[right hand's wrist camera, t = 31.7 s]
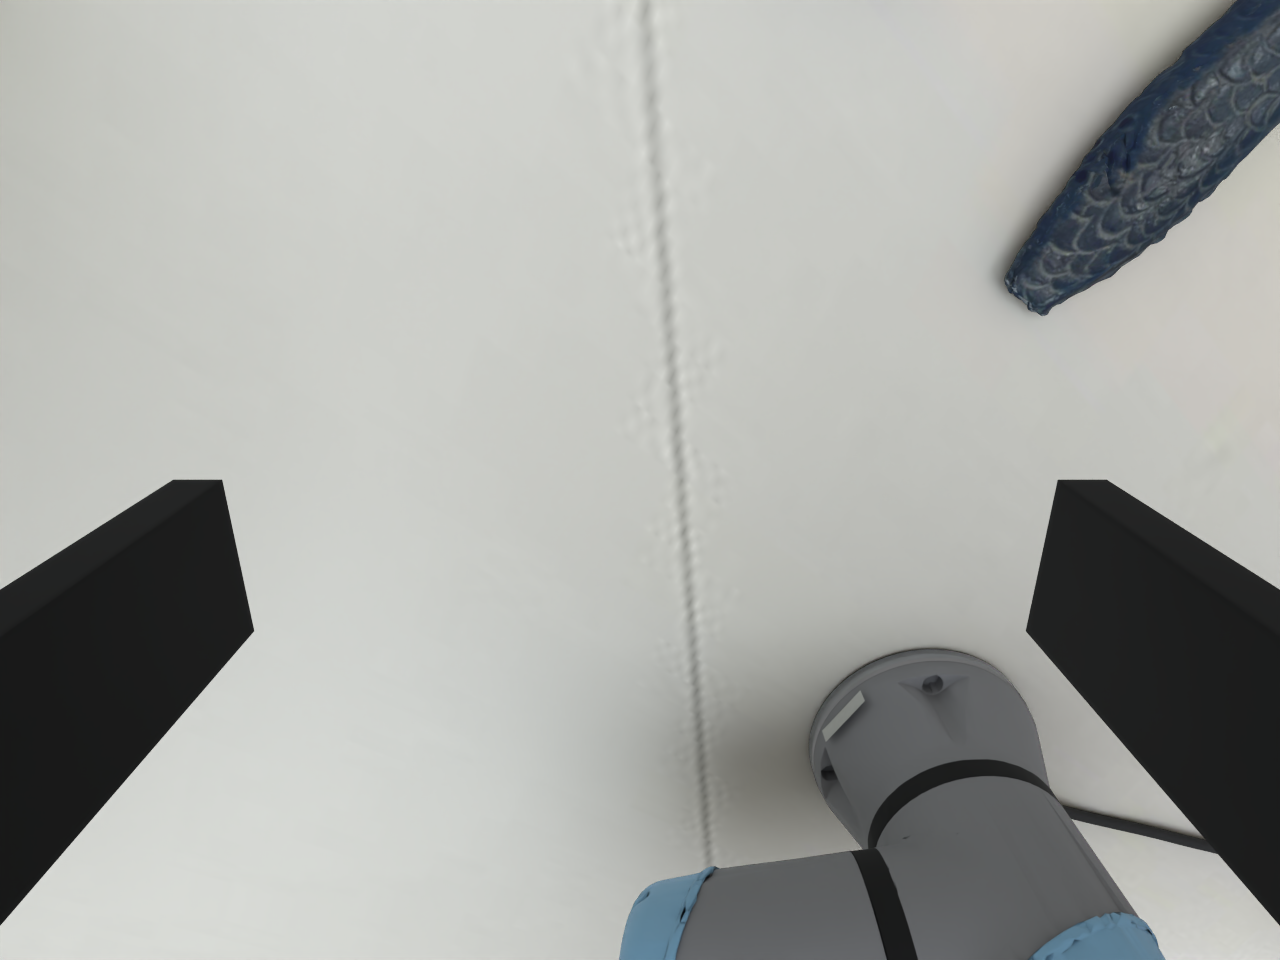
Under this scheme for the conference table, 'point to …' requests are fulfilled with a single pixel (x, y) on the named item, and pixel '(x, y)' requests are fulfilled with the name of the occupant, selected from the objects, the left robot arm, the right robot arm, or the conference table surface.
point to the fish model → (1158, 158)
